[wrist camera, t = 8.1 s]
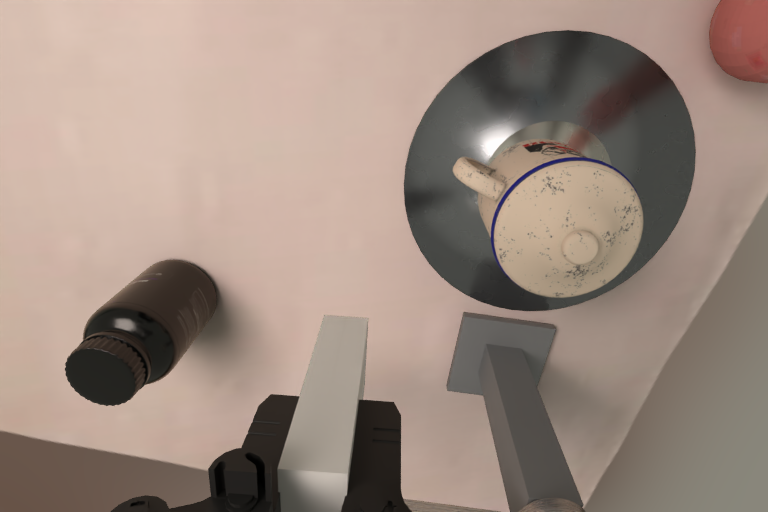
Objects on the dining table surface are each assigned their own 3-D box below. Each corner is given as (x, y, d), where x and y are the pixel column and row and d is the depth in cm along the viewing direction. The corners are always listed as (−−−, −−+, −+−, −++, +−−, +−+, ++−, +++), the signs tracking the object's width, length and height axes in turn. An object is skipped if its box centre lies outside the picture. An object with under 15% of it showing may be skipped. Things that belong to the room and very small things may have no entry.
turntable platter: (430, 8, 33) (430, 8, 32) (744, 55, 33) (746, 55, 33) (386, 291, 41) (386, 292, 41) (635, 325, 42) (636, 327, 41)
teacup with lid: (617, 168, 36) (705, 217, 25) (548, 265, 39) (600, 344, 29) (480, 93, 34) (512, 112, 24) (420, 201, 38) (425, 260, 27)
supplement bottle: (155, 243, 40) (62, 315, 29) (230, 279, 41) (167, 362, 30) (132, 305, 43) (38, 392, 32) (203, 337, 44) (135, 433, 33)
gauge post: (463, 312, 42) (497, 461, 26) (553, 324, 42) (638, 480, 27) (446, 384, 45) (468, 556, 30) (530, 396, 45) (594, 572, 30)
